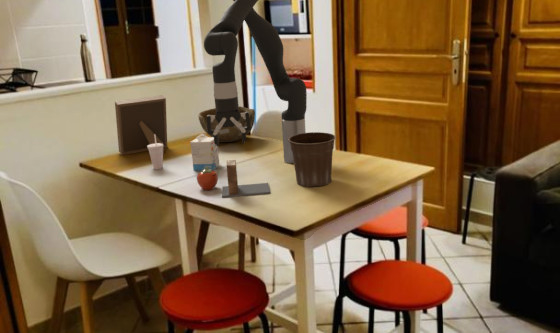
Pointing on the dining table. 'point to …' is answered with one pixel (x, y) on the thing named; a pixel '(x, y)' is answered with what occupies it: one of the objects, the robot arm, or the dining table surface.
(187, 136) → the dining table surface
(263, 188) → the mat
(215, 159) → the milk carton
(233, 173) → the walnut slab
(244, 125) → the bowl
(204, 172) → the tomato
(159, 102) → the photo frame
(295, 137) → the plant pot
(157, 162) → the smoothie
